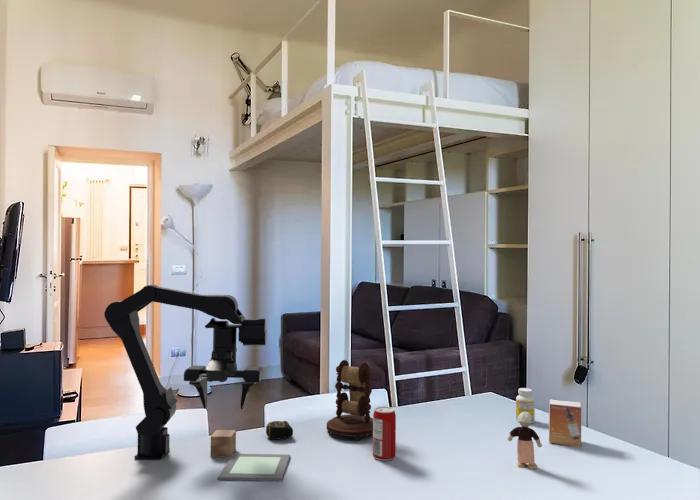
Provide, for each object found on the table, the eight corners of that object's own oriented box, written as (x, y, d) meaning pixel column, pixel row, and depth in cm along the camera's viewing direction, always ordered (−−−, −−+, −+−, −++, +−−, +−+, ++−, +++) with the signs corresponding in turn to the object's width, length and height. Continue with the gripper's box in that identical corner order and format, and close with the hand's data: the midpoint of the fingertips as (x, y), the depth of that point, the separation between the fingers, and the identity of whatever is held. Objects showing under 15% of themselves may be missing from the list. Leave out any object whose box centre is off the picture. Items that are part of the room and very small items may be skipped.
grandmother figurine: (541, 464, 125) (541, 411, 125) (541, 471, 121) (541, 415, 122) (507, 460, 127) (508, 408, 128) (507, 466, 124) (507, 412, 124)
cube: (210, 457, 129) (210, 436, 129) (216, 449, 134) (216, 429, 134) (230, 457, 128) (231, 436, 129) (235, 450, 133) (235, 430, 134)
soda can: (398, 455, 130) (398, 406, 131) (390, 462, 125) (391, 412, 126) (377, 451, 133) (378, 403, 133) (369, 459, 128) (369, 409, 128)
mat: (217, 479, 115) (217, 476, 115) (233, 456, 129) (233, 453, 129) (281, 480, 115) (281, 477, 115) (290, 457, 129) (290, 454, 129)
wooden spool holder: (388, 430, 150) (389, 359, 150) (361, 445, 137) (362, 368, 138) (345, 421, 157) (345, 354, 158) (315, 435, 145) (316, 362, 145)
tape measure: (293, 440, 141) (293, 426, 141) (268, 442, 139) (268, 428, 139) (288, 432, 148) (288, 419, 148) (264, 434, 146) (264, 421, 146)
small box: (548, 443, 140) (548, 403, 140) (549, 437, 145) (549, 398, 145) (581, 447, 137) (581, 407, 137) (580, 441, 142) (580, 401, 142)
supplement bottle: (530, 425, 155) (530, 392, 156) (513, 421, 159) (513, 389, 159) (537, 421, 160) (537, 389, 160) (519, 417, 163) (519, 386, 163)
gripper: (176, 350, 124) (175, 417, 123) (255, 351, 123) (254, 418, 123) (191, 343, 135) (190, 404, 134) (264, 344, 134) (263, 405, 134)
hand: (223, 408), depth 131 cm, fingers open, 9 cm apart
